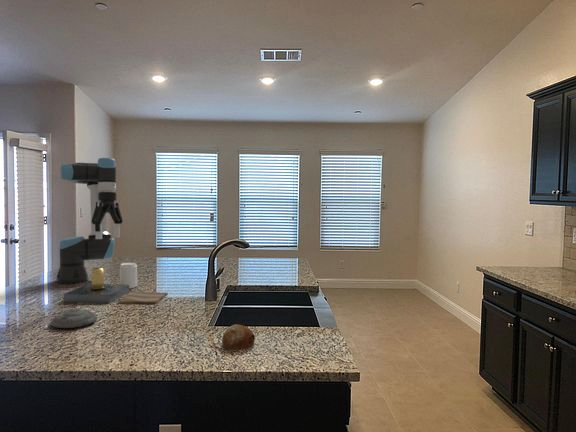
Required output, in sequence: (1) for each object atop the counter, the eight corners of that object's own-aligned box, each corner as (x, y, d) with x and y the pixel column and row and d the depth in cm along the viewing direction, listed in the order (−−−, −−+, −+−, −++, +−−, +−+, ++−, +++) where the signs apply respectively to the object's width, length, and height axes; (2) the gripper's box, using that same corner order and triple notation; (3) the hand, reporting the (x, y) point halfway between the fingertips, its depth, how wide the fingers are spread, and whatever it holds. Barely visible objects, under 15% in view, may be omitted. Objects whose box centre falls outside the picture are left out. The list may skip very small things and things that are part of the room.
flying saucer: (65, 334, 134) (64, 318, 133) (41, 326, 141) (41, 310, 141) (105, 322, 146) (105, 307, 146) (82, 315, 154) (82, 301, 154)
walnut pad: (133, 294, 187) (133, 291, 187) (167, 294, 186) (167, 292, 186) (118, 303, 171) (118, 301, 171) (155, 304, 170) (155, 301, 170)
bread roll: (229, 349, 132) (218, 327, 131) (257, 335, 132) (247, 314, 131) (227, 361, 122) (215, 338, 121) (257, 347, 122) (246, 324, 122)
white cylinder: (131, 289, 195) (130, 265, 194) (116, 288, 197) (116, 264, 196) (140, 286, 203) (140, 262, 202) (126, 285, 205) (126, 262, 204)
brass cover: (95, 295, 183) (95, 267, 183) (106, 295, 183) (105, 267, 183) (89, 298, 178) (89, 269, 178) (100, 298, 178) (100, 269, 178)
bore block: (87, 291, 191) (87, 283, 191) (128, 291, 191) (128, 284, 191) (63, 302, 171) (63, 294, 171) (109, 303, 171) (109, 295, 171)
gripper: (97, 189, 169) (98, 239, 169) (129, 193, 193) (130, 236, 193) (81, 190, 170) (82, 239, 170) (115, 193, 195) (116, 237, 194)
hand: (108, 238), depth 182 cm, fingers open, 13 cm apart
